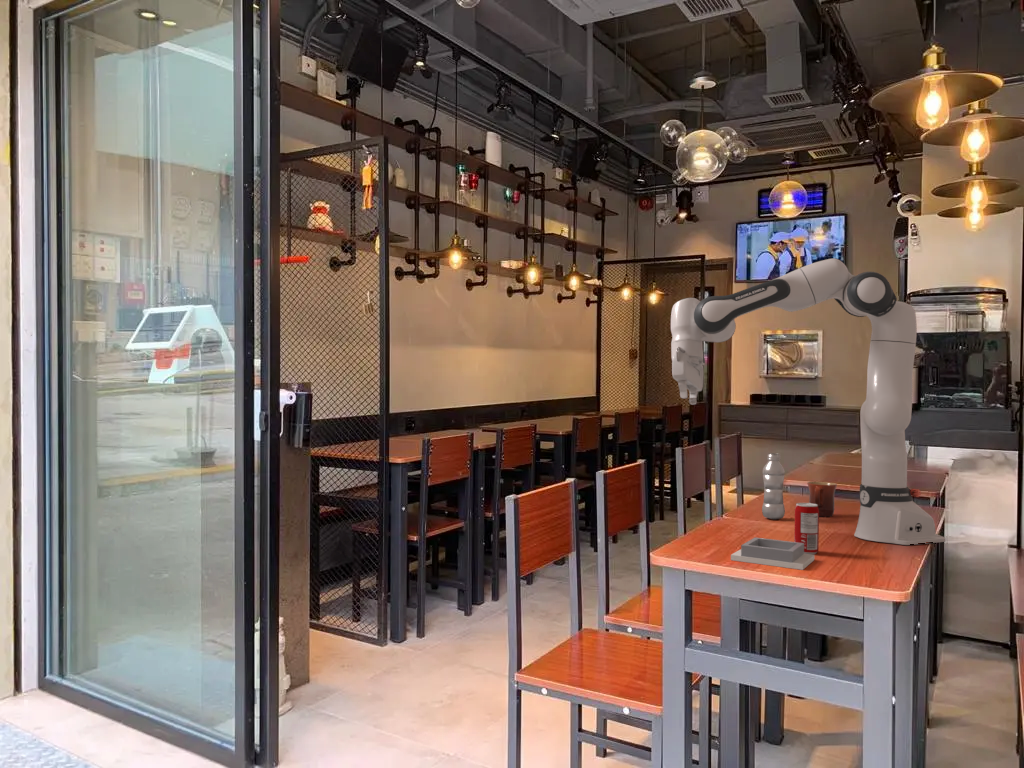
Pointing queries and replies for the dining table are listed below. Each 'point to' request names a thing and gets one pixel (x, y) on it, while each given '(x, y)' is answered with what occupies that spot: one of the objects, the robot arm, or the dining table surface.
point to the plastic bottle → (773, 488)
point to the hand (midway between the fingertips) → (688, 401)
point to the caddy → (773, 553)
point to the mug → (822, 497)
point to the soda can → (807, 526)
